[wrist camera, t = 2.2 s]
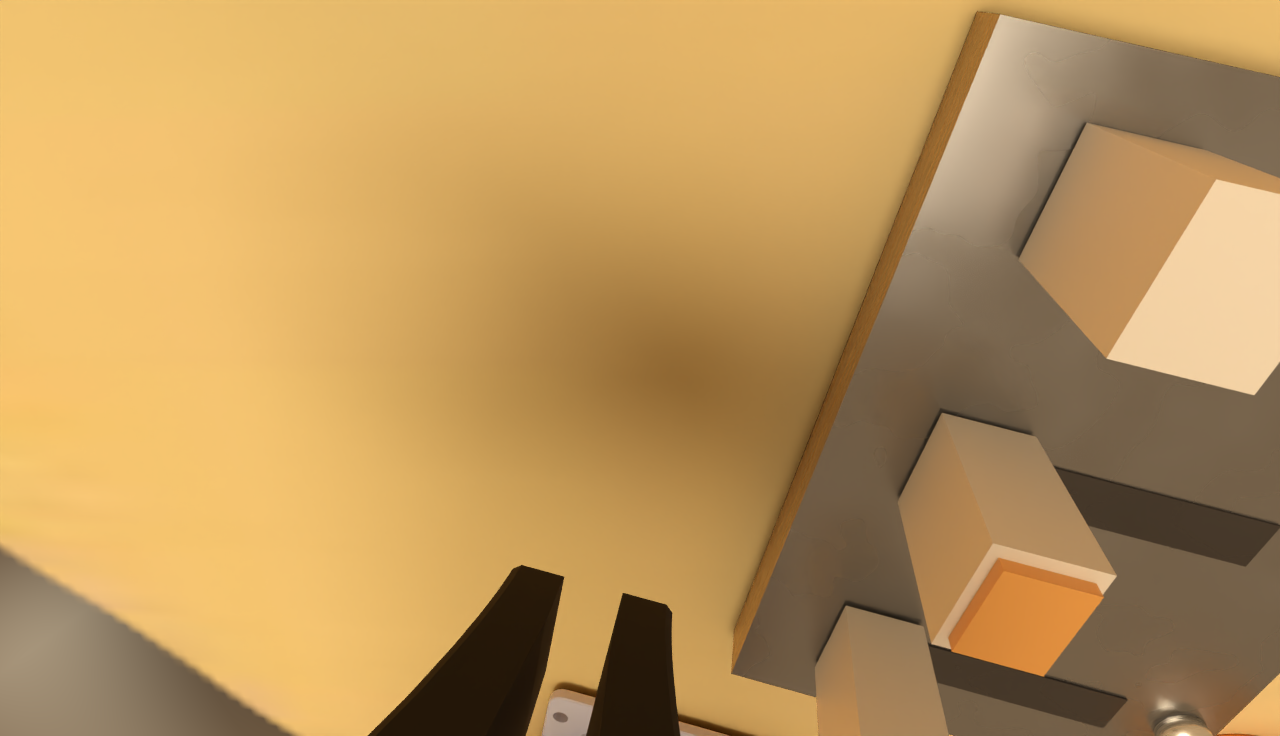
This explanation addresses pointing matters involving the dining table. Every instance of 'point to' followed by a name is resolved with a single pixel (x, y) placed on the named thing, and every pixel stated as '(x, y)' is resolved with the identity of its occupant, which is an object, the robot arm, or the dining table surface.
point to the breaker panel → (1042, 413)
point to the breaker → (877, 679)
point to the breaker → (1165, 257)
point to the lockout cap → (1234, 735)
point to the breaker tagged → (999, 547)
